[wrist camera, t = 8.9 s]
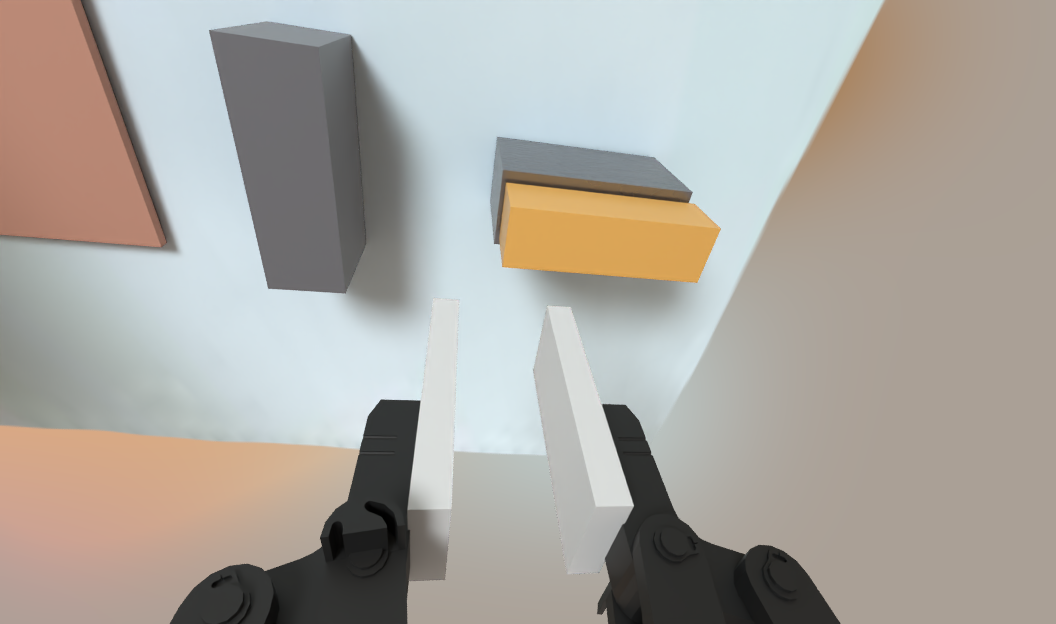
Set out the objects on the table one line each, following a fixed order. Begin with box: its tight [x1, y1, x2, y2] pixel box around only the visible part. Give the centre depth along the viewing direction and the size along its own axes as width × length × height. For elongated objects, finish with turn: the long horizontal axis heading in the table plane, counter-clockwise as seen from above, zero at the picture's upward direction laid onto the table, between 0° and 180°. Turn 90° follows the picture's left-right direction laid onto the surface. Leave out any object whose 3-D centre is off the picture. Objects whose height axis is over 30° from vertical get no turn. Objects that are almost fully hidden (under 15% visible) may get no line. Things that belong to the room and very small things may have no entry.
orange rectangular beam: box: [499, 183, 721, 283], centre depth 22 cm, size 10×3×3 cm, turn 81°
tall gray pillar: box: [209, 22, 366, 293], centre depth 23 cm, size 4×12×6 cm, turn 171°
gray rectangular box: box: [490, 137, 692, 244], centre depth 26 cm, size 10×4×6 cm, turn 81°
